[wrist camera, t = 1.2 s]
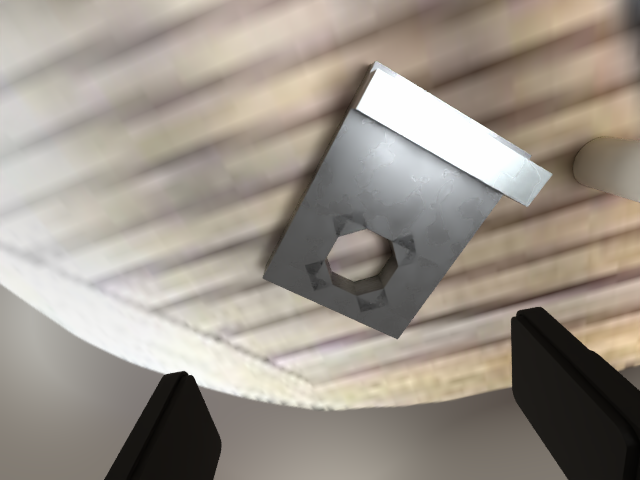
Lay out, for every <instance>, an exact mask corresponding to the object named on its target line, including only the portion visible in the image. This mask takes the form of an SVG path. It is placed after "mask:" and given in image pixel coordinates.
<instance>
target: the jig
mask: <svg viewBox="0 0 640 480" xmlns="http://www.w3.org/2000/svg"><path fill="white" fill-rule="evenodd" d="M531 156H532V155H530V154H528V153H527V152H525V151H523V150H522V149H520V148H518V147H517V146H515V145H514V144H512V143H510V142H509V141H507V140H505V139H504V138H502V137H500V136H499V135H497V134H495V133H494V132H492V131H491V130H489V129H487V128H486V127H484V126H482V125H481V124H479V123H477V122H476V121H474V120H472V119H471V118H469V117H468V116H466V115H464V114H463V113H461V112H459V111H458V110H456V109H454V108H453V107H451V106H450V105H448V104H446V103H445V102H443V101H441V100H440V99H438V98H436V97H435V96H433V95H431V94H430V93H428V92H427V91H425V90H423V89H422V88H420V87H418V86H417V85H415V84H413V83H412V82H410V81H408V80H407V79H405V78H404V77H402V76H400V75H399V74H397V73H395V72H394V71H392V70H390V69H389V68H387V67H385V66H384V65H382V64H381V63H379V62H377V61H375V62H374V63H372V64H371V65H370V67H369V69H368V71H367V73H366V75H365V77H364V78H363V80H362V82H361V84H360V86H359V88H358V90H357V92H356V94H355V96H354V98H353V100H352V102H351V103H350V105H349V107H348V109H347V111H346V113H345V115H344V117H343V119H342V121H341V123H340V125H339V127H338V129H337V130H336V132H335V134H334V136H333V138H332V140H331V142H330V144H329V146H328V148H327V150H326V152H325V154H324V155H323V157H322V159H321V161H320V163H319V165H318V167H317V169H316V171H315V173H314V175H313V177H312V179H311V180H310V182H309V184H308V186H307V188H306V190H305V192H304V194H303V196H302V198H301V200H300V202H299V204H298V205H297V207H296V209H295V211H294V213H293V215H292V217H291V219H290V221H289V223H288V225H287V227H286V229H285V230H284V232H283V234H282V236H281V238H280V240H279V242H278V244H277V246H276V248H275V250H274V252H273V254H272V255H271V257H270V259H269V261H268V263H267V265H266V268H265V271H264V275H263V279H265V280H267V281H269V282H272V283H274V284H276V285H278V286H281V287H283V288H285V289H287V290H289V291H292V292H294V293H296V294H298V295H301V296H303V297H305V298H307V299H309V300H312V301H314V302H316V303H318V304H320V305H323V306H325V307H327V308H329V309H332V310H334V311H336V312H338V313H340V314H343V315H345V316H347V317H349V318H351V319H354V320H356V321H358V322H360V323H363V324H365V325H367V326H369V327H371V328H374V329H376V330H378V331H380V332H383V333H385V334H387V335H389V336H391V337H394V338H396V339H398V338H399V337H400V335H401V334H402V333H403V331H404V330H405V329H406V327H407V326H408V324H409V323H410V322H411V320H412V319H413V318H414V316H415V315H416V314H417V312H418V311H419V309H420V308H421V307H422V305H423V304H424V303H425V301H426V300H427V298H428V297H429V296H430V294H431V293H432V292H433V290H434V289H435V287H436V286H437V285H438V283H439V282H440V281H441V279H442V278H443V277H444V275H445V274H446V272H447V271H448V270H449V268H450V267H451V266H452V264H453V263H454V261H455V260H456V259H457V257H458V256H459V255H460V253H461V252H462V250H463V249H464V248H465V246H466V245H467V244H468V242H469V241H470V240H471V238H472V237H473V235H474V234H475V233H476V231H477V230H478V229H479V227H480V226H481V224H482V223H483V222H484V220H485V219H486V218H487V216H488V215H489V213H490V212H491V211H492V209H493V208H494V207H495V205H496V204H497V203H498V201H499V200H500V198H501V197H502V196H503V195H504V196H506V197H508V198H510V199H512V200H514V201H516V202H518V203H520V204H522V205H524V206H526V207H528V206H529V204H530V203H531V202H532V200H533V199H534V198H535V196H536V195H537V194H538V193H539V191H540V190H541V189H542V187H543V186H544V185H545V183H546V182H547V181H548V179H549V178H550V177H551V176H552V174H551V173H550V172H548V171H546V170H545V169H543V168H541V167H540V166H538V165H536V164H535V163H533V162H532V161H530V160H529V159H530V157H531ZM364 229H369V230H371V231H373V232H375V233H377V234H379V235H381V236H383V237H385V238H387V239H389V243H390V247H391V251H392V256H391V257H390V259H389V260H388V262H387V263H386V265H385V267H384V268H383V270H382V271H381V273H380V274H379V275H378V276H374V277H371V278H367V279H363V280H360V281H356V282H353V281H350V280H348V279H346V278H344V277H342V276H340V275H338V274H336V273H334V272H332V271H331V268H330V265H329V262H328V259H327V255H328V254H329V252H330V250H331V249H332V247H333V245H334V243H335V242H336V240H337V238H338V237H340V236H343V235H346V234H350V233H353V232H357V231H360V230H364Z"/></svg>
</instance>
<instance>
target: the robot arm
mask: <svg viewBox="0 0 640 480" xmlns="http://www.w3.org/2000/svg"><path fill="white" fill-rule="evenodd" d="M511 346H512V390H513V395H514V398H515V400H516V402H517V404H518V405H519V407H520V408H521V410H522V411H523V413H524V414H525V416H526V417H527V419H528V420H529V422H530V423H531V424H532V426H533V428H534V429H535V431H536V432H537V434H538V435H539V437H540V438H541V440H542V441H543V443H544V444H545V446H546V447H547V449H548V450H549V451H550V453H551V455H552V456H553V458H554V459H555V461H556V462H557V464H558V465H559V467H560V468H561V469H562V471H563V472H564V474H565V476H566V477H567V479H568V480H640V391H639V390H638V389H637V388H636V387H634V386H633V385H632V384H631V383H630V382H629V381H628V380H627V379H626V378H624V377H623V376H622V375H621V374H620V373H619V372H618V371H617V370H615V369H614V368H613V367H612V366H611V365H610V364H609V363H608V362H606V361H605V360H604V359H603V358H602V357H601V356H600V355H598V354H597V353H595V352H594V351H591V350H589V349H588V348H587V347H586V346H584V345H583V344H582V343H581V342H580V341H579V340H578V339H577V338H576V337H574V336H573V335H572V334H571V333H570V332H569V331H568V330H567V329H566V328H564V327H563V326H562V325H561V324H560V323H559V322H558V321H557V320H556V319H554V318H553V317H552V316H551V315H550V314H549V313H548V312H547V311H546V310H544V309H543V308H542V307H535V308H530V309H524V310H519V311H518V312H517V314H516V317H512V319H511ZM220 453H221V439H220V436H219V434H218V431H217V429H216V427H215V424H214V422H213V420H212V418H211V415H210V413H209V411H208V408H207V406H206V404H205V401H204V399H203V397H202V395H201V392H200V390H199V388H198V385H197V383H196V381H195V378H194V377H193V376H192V375H188V373H187V372H185V371H181V372H176V373H170V374H166V375H164V376H163V377H162V379H161V381H160V382H159V384H158V386H157V388H156V389H155V391H154V393H153V395H152V396H151V398H150V400H149V402H148V403H147V405H146V407H145V409H144V410H143V412H142V414H141V416H140V418H139V419H138V421H137V423H136V424H135V426H134V428H133V430H132V432H131V433H130V435H129V437H128V439H127V440H126V442H125V444H124V446H123V447H122V449H121V451H120V453H119V454H118V456H117V458H116V460H115V462H114V463H113V465H112V467H111V469H110V470H109V472H108V474H107V476H106V477H105V479H104V480H213V478H214V475H215V471H216V468H217V464H218V460H219V457H220Z"/></svg>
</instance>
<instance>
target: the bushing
mask: <svg viewBox="0 0 640 480" xmlns="http://www.w3.org/2000/svg"><path fill="white" fill-rule="evenodd" d="M573 174H574V177H575V179H576V180H577V181H578V182H579V183H580V184H582V185H584V186H587V187H591V188H594V189H597V190H600V191H604V192H607V193H610V194H613V195H617V196H620V197H623V198H626V199H630V200H633V201H636V202H639V203H640V141H639V140H630V139H622V138H613V137H600V138H596V139H594V140H592V141H590V142H588V143H587V144H586V145H584V146H583V147H582V148H581V150H580V151H579V152H578V154H577V155H576V157H575V160H574V163H573Z"/></svg>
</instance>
